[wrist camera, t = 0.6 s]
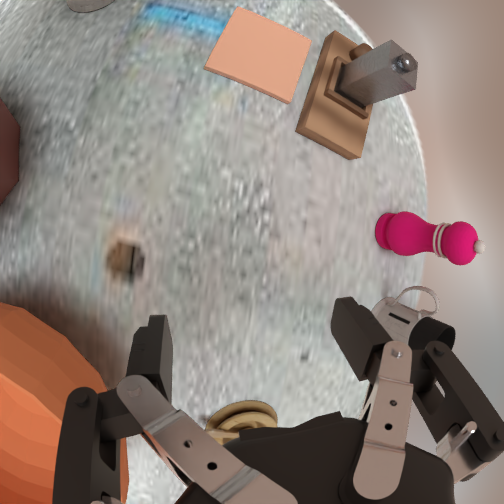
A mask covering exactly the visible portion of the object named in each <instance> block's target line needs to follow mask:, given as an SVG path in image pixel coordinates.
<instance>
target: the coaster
mask: <svg viewBox="0 0 504 504" xmlns="http://www.w3.org/2000/svg"><path fill="white" fill-rule="evenodd" d="M311 42H312V41H311V40H310V39H308V38H306V37H304V36H302V35H300V34H298V33H296V32H294V31H293V30H291V29H289V28H287V27H284V26H282V25H280V24H278V23H276V22H274V21H272V20H270V19H267V18H265V17H263V16H261V15H258V14H256V13H253V12H251V11H249V10H246V9H244V8H241V7H238V6H237V8H236V10H235V11H234V13H233V15H232V16H231V18H230V20H229V22H228V23H227V25H226V27H225V29H224V30H223V32H222V34H221V36H220V38H219V40H218V41H217V43H216V45H215V47H214V49H213V51H212V53H211V55H210V57H209V59H208V61H207V63H206V65H205V67H204V69H205V70H208V71H211V72H214V73H216V74H219V75H222V76H224V77H227V78H229V79H232V80H234V81H237V82H239V83H242V84H244V85H247V86H249V87H251V88H254V89H256V90H258V91H260V92H263V93H265V94H267V95H269V96H271V97H274V98H276V99H278V100H280V101H282V102H284V103H286V104H289V103H290V102H291V100H292V97H293V94H294V91H295V88H296V85H297V82H298V80H299V77H300V74H301V71H302V68H303V65H304V62H305V59H306V57H307V54H308V51H309V48H310V45H311Z"/></svg>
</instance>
